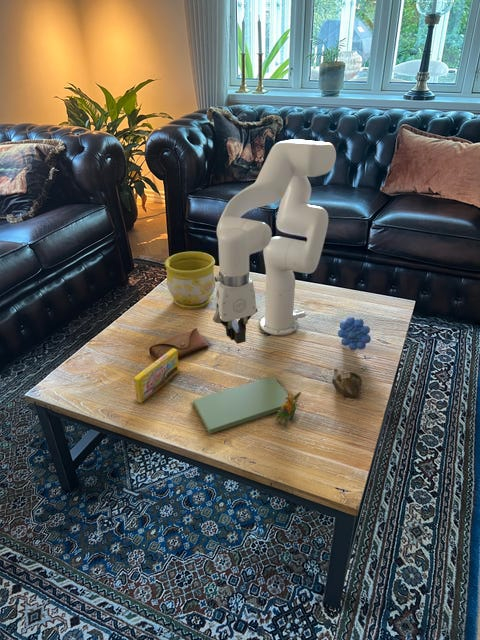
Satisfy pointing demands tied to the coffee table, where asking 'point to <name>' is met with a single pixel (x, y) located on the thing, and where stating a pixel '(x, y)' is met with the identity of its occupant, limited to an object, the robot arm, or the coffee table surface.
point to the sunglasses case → (180, 345)
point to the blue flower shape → (354, 333)
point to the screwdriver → (238, 332)
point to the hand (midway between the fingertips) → (236, 335)
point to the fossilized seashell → (347, 383)
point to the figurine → (287, 409)
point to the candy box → (156, 375)
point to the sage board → (240, 404)
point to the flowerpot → (191, 278)
